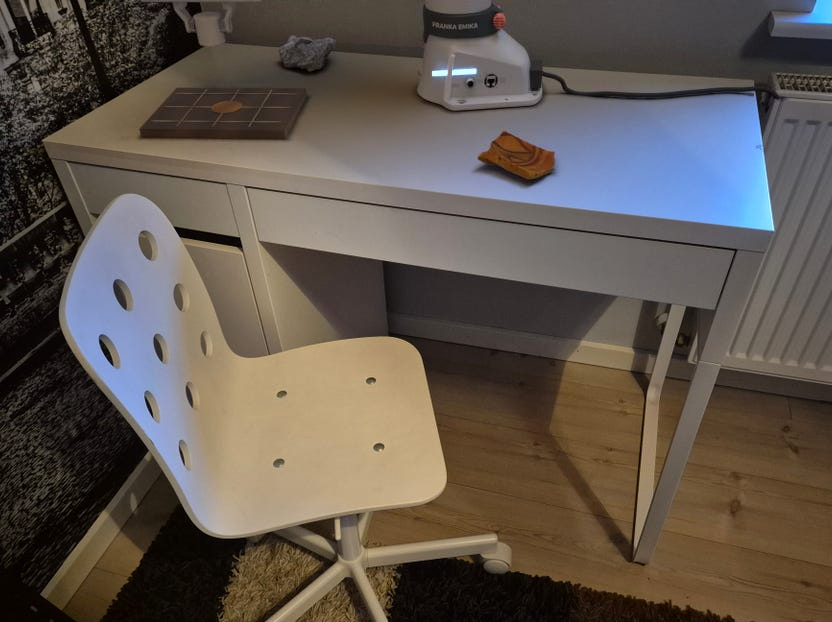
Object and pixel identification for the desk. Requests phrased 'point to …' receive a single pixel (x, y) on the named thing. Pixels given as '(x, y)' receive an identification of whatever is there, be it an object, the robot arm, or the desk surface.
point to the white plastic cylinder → (209, 29)
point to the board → (226, 113)
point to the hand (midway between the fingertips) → (210, 31)
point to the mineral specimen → (306, 52)
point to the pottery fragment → (518, 156)
